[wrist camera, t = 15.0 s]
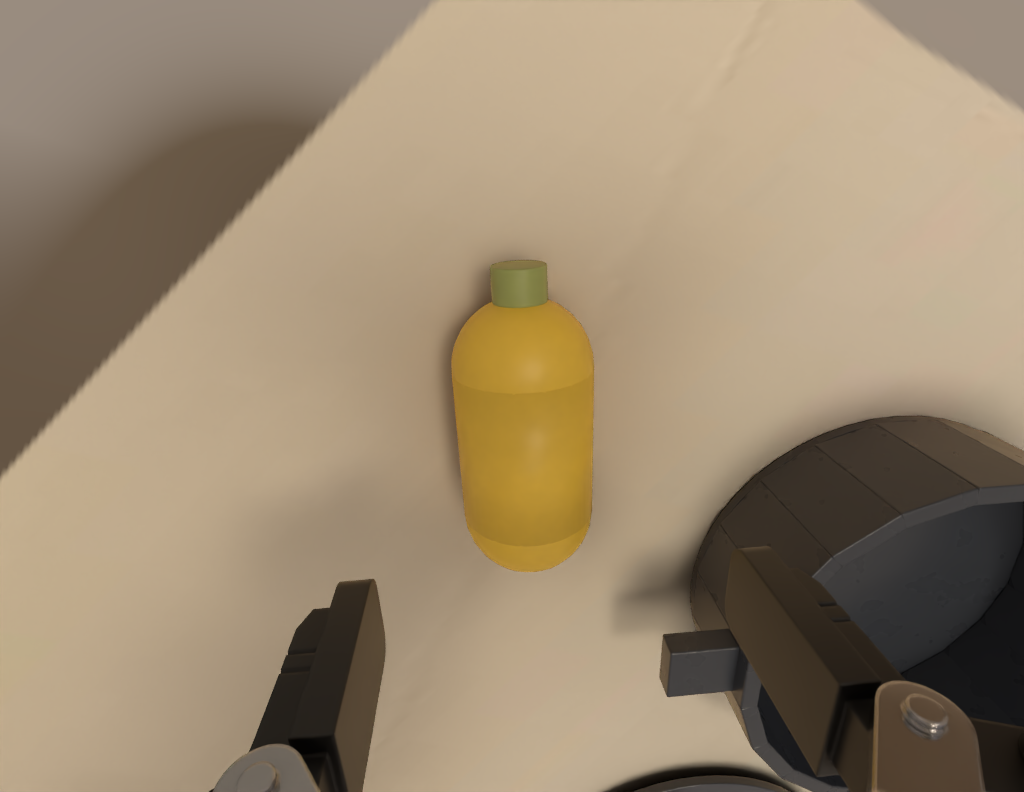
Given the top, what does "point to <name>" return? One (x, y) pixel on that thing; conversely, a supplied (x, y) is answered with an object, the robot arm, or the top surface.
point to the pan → (876, 569)
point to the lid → (714, 785)
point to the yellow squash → (524, 422)
